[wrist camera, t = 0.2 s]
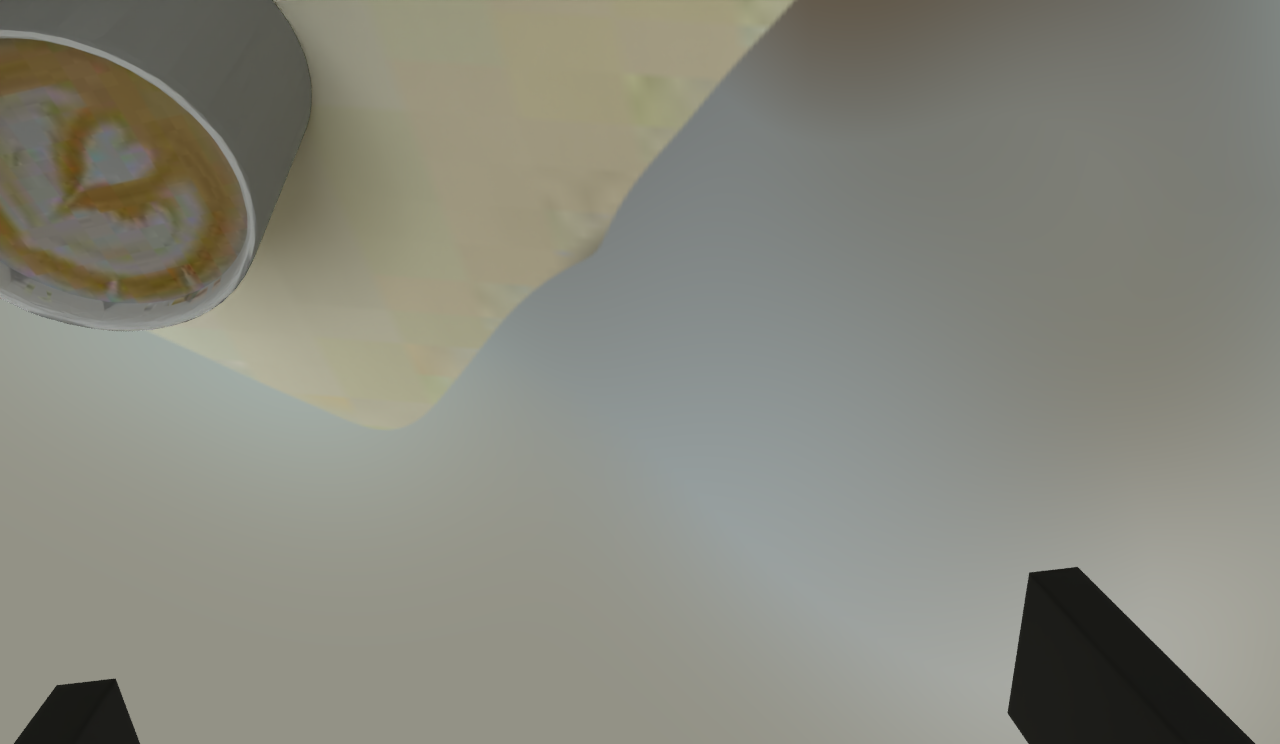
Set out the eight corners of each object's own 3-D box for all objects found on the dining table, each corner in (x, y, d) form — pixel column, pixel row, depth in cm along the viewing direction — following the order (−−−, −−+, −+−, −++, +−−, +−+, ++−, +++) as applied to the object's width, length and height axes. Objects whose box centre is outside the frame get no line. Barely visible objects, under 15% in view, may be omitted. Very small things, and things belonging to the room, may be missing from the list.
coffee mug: (281, -67, 30) (207, 30, 22) (332, 186, 36) (288, 327, 29) (-139, -79, 28) (-375, 22, 20) (-6, 189, 34) (-148, 341, 27)
